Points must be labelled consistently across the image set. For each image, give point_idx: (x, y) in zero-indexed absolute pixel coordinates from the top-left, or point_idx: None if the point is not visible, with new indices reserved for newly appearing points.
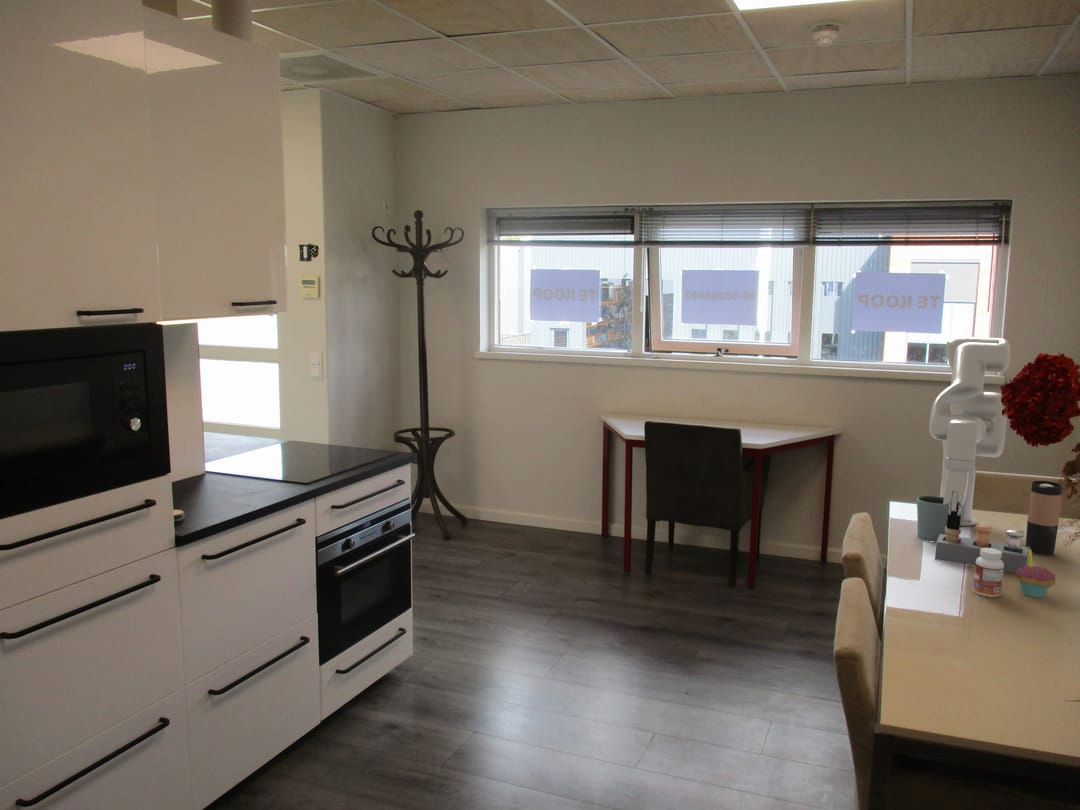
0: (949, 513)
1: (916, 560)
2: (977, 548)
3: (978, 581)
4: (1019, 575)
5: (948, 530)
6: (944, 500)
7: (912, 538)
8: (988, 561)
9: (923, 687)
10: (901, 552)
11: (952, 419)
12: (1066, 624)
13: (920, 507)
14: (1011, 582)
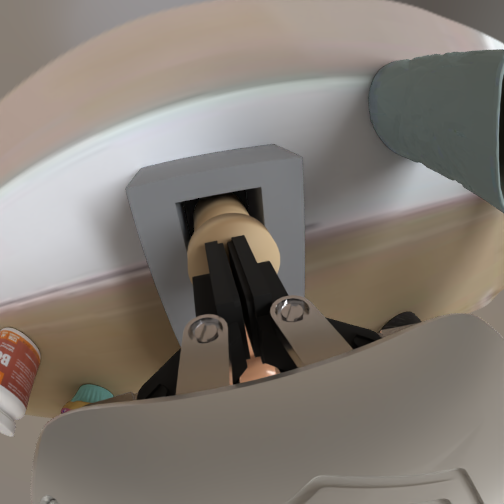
0: (185, 338)
1: (75, 125)
2: (175, 334)
3: None
4: (61, 412)
5: (189, 251)
6: (33, 464)
7: (365, 44)
8: None
9: None
10: (138, 41)
11: None
12: (38, 414)
13: (475, 58)
14: (122, 367)
